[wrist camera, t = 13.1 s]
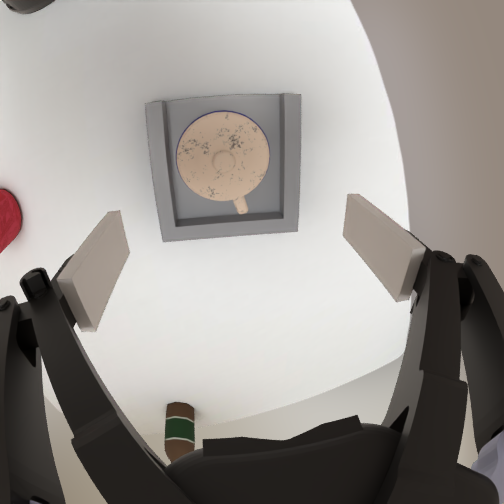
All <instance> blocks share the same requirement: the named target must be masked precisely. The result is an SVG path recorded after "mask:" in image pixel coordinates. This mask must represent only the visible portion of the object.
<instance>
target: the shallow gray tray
mask: <svg viewBox="0 0 504 504" xmlns="http://www.w3.org/2000/svg"><path fill="white" fill-rule="evenodd" d="M145 110H146V123H147V134H148V144H149V153H150V162H151V170H152V178H153V185H154V192H155V199H156V205H157V211H158V217H159V223H160V229H161V234H162V240H163V242H172V241H183V240H195V239H207V238H219V237H231V236H244V235H257V234H271V233H285V232H298V218H299V194H300V162H301V94H246V95H222V96H208V97H197V98H187V99H179V100H171V101H157V102H151V103H145ZM221 110H227V111H234V112H238V113H241V114H244V115H246V116H247V117H249V118H251V119H252V120H253V121H255V122H256V123H257V124H258V125H259V126H260V127H261V129H262V130H263V132H264V133H265V135H266V137H267V140H268V143H269V147H270V162H269V167H268V170H267V172H266V174H265V176H264V178H263V180H262V181H261V182H260V184H259V185H258V186H257V187H256V188H255V189H254V190H252V191H251V192H250V193H248V194H246V195H245V196H244V197H245V200H246V203H247V206H248V212H247V213H244V214H239V213H238V212H237V210H236V207H235V205H234V202H233V200H229V201H215V200H210V199H206V198H204V197H202V196H199V195H198V194H196V193H195V192H193V191H192V190H191V189H190V188H189V187H188V186H187V185H186V184H185V183H184V181H183V180H182V178H181V176H180V174H179V172H178V169H177V165H176V149H177V145H178V142H179V139H180V137H181V135H182V133H183V132H184V130H185V129H186V128H187V127H188V126H189V125H190V124H191V123H192V122H193V121H194V120H195V119H197V118H198V117H200V116H202V115H204V114H207V113H210V112H214V111H221Z"/></svg>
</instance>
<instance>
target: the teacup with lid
mask: <svg viewBox="0 0 504 504" xmlns="http://www.w3.org/2000/svg"><path fill="white" fill-rule="evenodd" d="M269 162H270V147H269V143H268V140H267V137H266V135H265V133H264V132H263V130H262V129H261V127H260V126H259V125H258V124H257V123H256V122H255V121H253V120H252V119H251V118H249V117H247V116H246V115H244V114H241V113H238V112H234V111H227V110H221V111H214V112H210V113H207V114H204V115H202V116H200V117H198V118H197V119H195V120H194V121H193V122H192V123H191V124H190V125H189V126H188V127H187V128H186V129H185V130H184V132H183V133H182V135H181V137H180V139H179V142H178V145H177V149H176V165H177V169H178V172H179V174H180V176H181V178H182V180H183V181H184V183H185V184H186V185H187V186H188V187H189V188H190V189H191V190H192V191H193V192H195V193H196V194H198V195H199V196H202V197H204V198H206V199H210V200H215V201H229V200H233V202H234V205H235V207H236V210H237V212H238V213H239V214H244V213H247V212H248V206H247V203H246V200H245V197H244V196H245V195H246V194H248V193H250V192H251V191H252V190H254V189H255V188H256V187H257V186H258V185H259V184H260V182H261V181H262V180H263V178H264V176H265V174H266V172H267V170H268V167H269Z"/></svg>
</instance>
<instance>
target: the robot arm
mask: <svg viewBox="0 0 504 504" xmlns="http://www.w3.org/2000/svg"><path fill="white" fill-rule="evenodd" d="M2 1H3V2H4V3H5V4H6V5H7V7H8V8H9V9H10V10H12V11H14V12H17V13H21V14H28V13H32V12H35V11H37V10H40V9H42V8H43V7H45V6H47V5H48V4H50V3H51V2H53V1H54V0H2ZM343 237H344V238H345V239H346V240H347V241H348V242H349V244H350V245H351V246H352V247H353V248H354V250H355V251H356V252H357V253H358V254H359V256H360V257H361V258H362V259H363V260H364V262H365V263H366V264H367V265H368V267H369V268H370V269H371V270H372V272H373V273H374V274H375V275H376V277H377V278H378V279H379V280H380V282H381V283H382V284H383V285H384V287H385V288H386V289H387V291H388V292H389V293H390V295H391V296H392V297H393V298H394V300H395V301H396V302H401V301H405V300H409V298H410V296H411V293H412V290H413V289H414V290H415V291H416V293H417V296H416V299H415V301H414V304H413V306H412V309H411V311H410V313H411V314H412V313H413V314H412V320H411V325H410V330H409V335H408V340H407V344H406V349H405V353H404V357H403V361H402V365H401V369H400V372H399V376H398V380H397V383H396V386H395V390H394V393H393V396H392V399H391V402H390V405H389V408H388V411H387V414H386V416H385V419H384V421H383V422H382V424H381V425H377V424H368V423H360V420H359V418H358V415H355V416H352V417H348V418H345V419H340V420H337V421H333V422H328V423H324V424H321V425H319V426H317V427H315V428H313V429H311V430H309V431H307V432H305V433H302V434H300V435H298V436H296V437H293V438H291V439H288V440H267V439H257V438H248V437H235V438H220V439H203V448H202V449H198V450H195V451H192V452H189V453H187V454H185V455H183V456H181V457H179V458H178V459H176V460H175V461H173V462H172V463H171V464H170V465H168V466H166V464H164V462H163V461H162V460H161V459H160V458H159V457H158V456H157V455H156V454H155V453H154V452H153V450H152V449H151V448H150V447H149V446H148V445H147V443H146V442H145V441H144V440H143V438H142V437H141V436H140V435H139V433H138V432H137V431H136V429H135V428H134V427H133V425H132V424H131V423H130V421H129V420H128V419H127V417H126V416H125V415H124V413H123V412H122V410H121V409H120V407H119V406H118V405H117V403H116V402H115V400H114V399H113V397H112V396H111V394H110V393H109V391H108V389H107V388H106V386H105V385H104V383H103V381H102V380H101V378H100V376H99V375H98V373H97V371H96V370H95V368H94V366H93V364H92V363H91V361H90V359H89V357H88V356H87V354H86V352H85V350H84V348H83V346H82V344H81V342H80V340H79V338H78V336H77V334H76V333H75V331H74V329H73V327H74V325H75V323H76V322H77V324H78V326H79V328H80V330H81V332H96V330H97V328H98V325H99V322H100V320H101V317H102V315H103V312H104V310H105V307H106V305H107V303H108V300H109V298H110V295H111V293H112V291H113V289H114V286H115V284H116V282H117V279H118V277H119V275H120V273H121V271H122V269H123V266H124V264H125V262H126V260H127V258H128V256H129V254H130V251H129V247H128V243H127V239H126V235H125V231H124V226H123V222H122V218H121V213H120V210H119V211H112V212H108V213H107V214H106V215H105V216H104V218H103V219H102V220H101V221H100V222H99V223H98V225H97V226H96V227H95V228H94V230H93V231H92V232H91V233H90V235H89V236H88V237H87V238H86V240H85V241H84V242H83V243H82V245H81V246H80V247H79V249H78V250H77V251H76V253H75V254H73V255H72V256H70V257H69V258H68V259H67V260H66V261H65V262H64V263H63V265H62V267H60V269H59V270H58V272H57V273H56V274H55V276H54V277H53V279H52V280H51V282H50V279H49V277H48V275H47V272H46V270H45V269H44V268H36V269H33V270H31V271H29V272H28V273H26V274H25V275H24V276H23V277H22V278H21V280H20V286H21V288H22V290H23V292H24V294H25V296H26V298H27V300H28V302H24V303H21V304H18V303H17V301H16V299H15V297H14V296H6V297H4V298H2V299H1V300H0V504H66V503H65V498H64V495H63V491H62V487H61V484H60V480H59V477H58V473H57V470H56V466H55V462H54V457H53V453H52V448H51V444H50V438H49V433H48V427H47V420H46V413H45V405H44V396H43V384H42V365H41V355H42V359H43V362H44V365H45V368H46V371H47V373H48V376H49V379H50V382H51V384H52V387H53V390H54V392H55V395H56V397H57V400H58V402H59V404H60V407H61V409H62V411H63V413H64V415H65V418H66V419H67V422H68V424H69V426H70V428H71V430H72V432H73V434H74V438H73V439H72V440H71V441H72V445H73V448H74V450H75V452H76V454H77V456H78V458H79V459H80V461H81V463H82V464H83V466H84V468H85V470H86V471H87V473H88V475H89V476H90V478H91V479H92V481H93V483H94V484H95V486H96V487H97V489H98V490H99V492H100V493H101V495H102V496H103V497H104V499H105V500H106V502H107V503H108V504H502V503H503V502H504V292H503V290H502V288H501V286H500V285H499V283H498V281H497V279H496V278H495V276H494V274H493V273H492V271H491V269H490V268H489V266H488V264H487V263H486V262H485V261H484V260H483V259H482V258H481V257H480V256H477V255H471V254H469V255H467V256H466V258H465V261H464V263H456V261H455V259H454V258H453V257H452V256H451V255H449V254H447V253H445V252H443V251H433V252H432V251H431V250H430V249H429V248H428V247H427V246H426V245H424V244H423V243H422V242H421V241H419V239H417V238H416V237H415V236H414V235H413V234H412V233H410V232H409V231H407V230H405V229H403V228H402V227H401V226H400V225H399V224H397V223H396V222H395V221H394V220H392V219H391V218H390V217H389V216H387V215H386V214H385V213H383V212H382V211H381V210H380V209H378V208H377V207H376V206H374V205H373V204H372V203H370V202H369V201H368V200H366V199H365V198H364V197H362V196H361V195H360V194H348V195H347V204H346V213H345V221H344V229H343ZM461 351H462V355H463V360H464V365H465V370H466V375H467V381H468V385H467V383H466V382H464V381H461V380H460V379H459V377H460V358H461ZM468 387H469V393H470V400H471V408H472V418H473V428H474V437H475V442H476V448H477V452H478V460H476V461H475V462H474V463H473V465H472V467H471V469H470V468H467V467H465V466H463V465H461V464H459V463H457V459H458V455H459V450H460V445H461V440H462V434H463V428H464V421H465V414H466V405H467V394H468Z"/></svg>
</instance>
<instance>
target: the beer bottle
mask: <svg viewBox="0 0 504 504" xmlns="http://www.w3.org/2000/svg"><path fill="white" fill-rule="evenodd" d="M194 436H195V435H194V408H193V407H191V406H190V405H188V404H187V403H180V402H174V403H171V404H168V405H167V411H166V424H165V452H166V454H167V456H168V458H169V459H170V461H171V463H172V462H173V461H175V460H176V459H178V458H179V457H181V456H183V455H185V454H187V453H189V452H192V451H194V447H195V446H194V445H195V437H194Z"/></svg>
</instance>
